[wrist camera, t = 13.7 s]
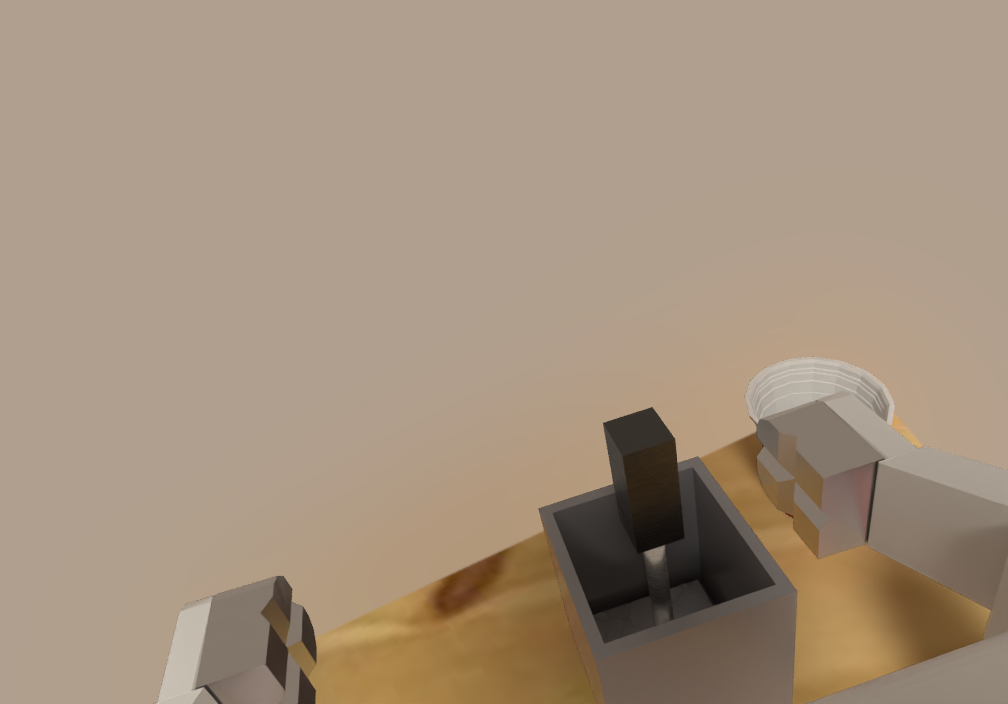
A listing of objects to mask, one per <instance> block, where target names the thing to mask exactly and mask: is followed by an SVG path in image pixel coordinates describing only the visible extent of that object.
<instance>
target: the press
mask: <svg viewBox="0 0 1008 704" xmlns="http://www.w3.org/2000/svg"><path fill="white" fill-rule="evenodd" d="M677 464H678V474H679V485H680V495H681V506H682V516H683V526H684V537H685V538H684V539H681V540H679V541H676V542H673V543H670V544H667V545H665V551H666V559H667V567H668V575H669V584H670V589H671V588H674V587H677V586H680V585H683V584H686V583H689V582H692V581H695V580H698V581H699V583H700V585H701V586H702V588H703V590H704V591H705V593H706V595H707V597H708V598H709V600H710V602H711V603H712V605H713V606H712V607H710V608H707V609H704V610H701V611H698V612H695V613H692V614H689V615H686V616H683V617H681V618H678V619H675V620H672V621H669V622H666V623H663V624H660V625H657V626H654V627H652V628H649V629H646V630H643V631H640V632H637V633H634V634H631V635H628V636H625V637H623V638H620V639H617V640H614V641H611V642H608V643H605V644H604V642H603V640H602V637H601V635H600V632H599V630H598V627H597V625H596V622H595V619H594V617H593V615H595V614H598V613H601V612H604V611H607V610H609V609H612V608H615V607H618V606H621V605H624V604H627V603H630V602H633V601H636V600H639V599H642V598H645V597H648V596H650V595H649V588H648V581H647V575H646V568H645V561H644V555H643V553H640V554H637V552H636V550H635V548H634V546H633V544H632V542H631V540H630V538H629V536H628V534H627V532H626V530H625V528H624V526H623V524H622V522H621V521H620V519H619V513H618V507H617V501H616V495H615V490H614V484H612V485H609V486H606V487H603V488H600V489H597V490H594V491H591V492H587V493H584V494H582V495H579V496H575V497H572V498H570V499H566V500H563V501H560V502H557V503H554V504H551V505H548V506H545V507H542V508H539V512H540V516H541V520H542V524H543V527H544V531H545V535H546V539H547V543H548V546H549V550H550V554H551V558H552V561H553V565H554V569H555V573H556V576H557V580H558V584H559V588H560V591H561V595H562V599H563V603H564V607H565V610H566V614H567V618H568V622H569V625H570V628H571V631H572V634H573V637H574V640H575V643H576V645H577V648H578V651H579V654H580V657H581V660H582V662H583V665H584V668H585V671H586V674H587V676H588V679H589V682H590V685H591V688H592V691H593V693H594V696H595V699H596V702H597V704H792V697H793V675H794V653H795V631H796V609H797V590H796V589H795V588H794V586H793V585H792V583H791V582H790V581H789V579H788V578H787V577H786V575H785V574H784V573H783V571H782V570H781V568H780V567H779V566H778V564H777V563H776V562H775V560H774V559H773V558H772V556H771V555H770V553H769V552H768V551H767V549H766V548H765V547H764V545H763V544H762V543H761V541H760V540H759V539H758V537H757V536H756V534H755V533H754V532H753V530H752V529H751V528H750V526H749V525H748V524H747V522H746V521H745V519H744V518H743V517H742V515H741V514H740V513H739V511H738V510H737V509H736V507H735V506H734V504H733V503H732V502H731V500H730V499H729V498H728V496H727V495H726V494H725V492H724V491H723V490H722V488H721V487H720V485H719V484H718V483H717V481H716V480H715V479H714V477H713V476H712V475H711V473H710V472H709V470H708V469H707V468H706V466H705V465H704V464H703V462H702V461H701V460H700V458H699V457H695V458H692V459H689V460H685V461H682V462H679V463H677Z"/></svg>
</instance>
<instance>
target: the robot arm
mask: <svg viewBox="0 0 1008 704" xmlns="http://www.w3.org/2000/svg"><path fill="white" fill-rule="evenodd" d="M757 438H758V440H759V441H760V442H761V443H762V444H763V445H764V447H763V448H762V450H761V451H760V453H759V454H758V456H757V472H758V475H759V478H760V481H761V484H762V487H763V489H764V491H765V492H766V494H767V496H768V498H769V499H770V500H771V502H772V503H773V504H774V506H775V507H776V508H777V509H778V510H780V511H783V512H785V513H787V514H790V515H792V516H794V518H793V529H794V530H795V532H796V533H797V534H798V535H799V537H800V538H801V539H802V540H803V541H804V543H805V544H806V545H807V546H808V548H809V549H810V550H811V551H812V552H813V554H814V555H815V556H816V557H817V559H820V558H823V557H826V556H830V555H833V554H836V553H839V552H842V551H846V550H849V549H852V548H855V547H858V546H862V545H865V544H868V547H870V548H872V549H874V550H875V551H877V552H879V553H881V554H883V555H885V556H887V557H889V558H891V559H893V560H895V561H897V562H899V563H901V564H903V565H905V566H906V567H908V568H910V569H912V570H914V571H916V572H918V573H920V574H922V575H924V576H926V577H928V578H930V579H932V580H934V581H936V582H937V583H939V584H941V585H943V586H945V587H947V588H949V589H951V590H953V591H955V592H957V593H959V594H961V595H963V596H965V597H966V598H968V599H970V600H972V601H974V602H976V603H978V604H980V605H982V606H984V607H986V608H988V609H990V610H991V612H990V616H989V619H988V622H987V625H986V629H985V632H984V636H983V640H981V641H979V642H976V643H973V644H970V645H968V646H965V647H962V648H959V649H956V650H954V651H951V652H948V653H945V654H942V655H940V656H937V657H934V658H931V659H929V660H926V661H923V662H920V663H917V664H915V665H912V666H909V667H906V668H903V669H901V670H898V671H895V672H892V673H890V674H887V675H884V676H881V677H878V678H876V679H873V680H870V681H867V682H864V683H862V684H859V685H856V686H853V687H851V688H848V689H845V690H842V691H839V692H837V693H834V694H831V695H828V696H825V697H823V698H820V699H817V700H814V701H811V702H809V703H806V704H1008V470H1007V469H1004V468H1000V467H997V466H993V465H990V464H987V463H983V462H980V461H977V460H973V459H970V458H966V457H962V456H959V455H956V454H952V453H949V452H946V451H942V450H939V449H935V448H932V447H929V446H925V447H921V448H917V447H916V446H915V445H913V444H912V443H911V442H910V441H908V440H907V439H906V438H905V437H904V436H902V435H901V434H900V433H899V432H898V431H896V430H895V429H894V428H893V427H891V426H890V425H889V424H888V423H887V422H885V421H884V420H883V419H882V418H881V417H879V416H878V415H877V414H876V413H874V412H873V411H872V410H871V409H870V408H868V407H867V406H866V405H865V404H864V403H862V402H861V401H860V400H859V399H857V398H856V397H855V396H854V395H853V394H851V393H849V392H846V391H841V392H838V393H835V394H832V395H830V396H827V397H824V398H821V399H818V400H815V401H814V402H809V403H806V404H803V405H800V406H797V407H794V408H791V409H788V410H785V411H782V412H779V413H776V414H773V415H770V416H767V417H764V418H761V419H759V422H758V424H757ZM291 600H292V588H291V586H290V585H289V584H288V582H287V581H286V579H285V578H284V576H275V577H272V578H269V579H265V580H262V581H259V582H255V583H252V584H249V585H245V586H242V587H239V588H236V589H232V590H229V591H225V592H222V593H219V594H217V595H214V596H211V597H207V598H204V599H201V600H197V601H194V602H191V603H187V604H185V606H184V607H183V608H182V610H181V611H180V613H179V615H178V619H177V623H176V627H175V631H174V635H173V639H172V644H171V648H170V652H169V656H168V660H167V664H166V668H165V673H164V677H163V680H162V684H161V689H160V693H159V697H158V701H157V703H155V704H315V695H316V690H315V689H314V687H313V686H312V684H311V683H310V681H309V680H308V677H309V675H310V674H311V672H312V670H313V669H314V667H315V666H316V649H317V647H316V641H315V635H314V629H313V626H312V624H311V621H310V618H309V616H308V614H307V612H306V611H305V609H304V607H303V606H301V605H298V604H296V603H293V602H291Z"/></svg>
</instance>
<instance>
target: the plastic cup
mask: <svg viewBox="0 0 1008 704" xmlns="http://www.w3.org/2000/svg"><path fill="white" fill-rule="evenodd" d="M841 391H846V392H849V393H851V394H853V395H854V396H855V397H856V398H857V399H859V400H860V401H861V402H862V403H864V404H865V405H866V406H867V407H868V408H870V409H871V410H872V411H873V412H874V413H876V414H877V415H878V416H879V417H881V418H882V419H883V420H884V421H885V422H887V423H888V424H889V425H890V426H891V424H892V421H893V415H894V408H895V403H894V402H893V400H892V398H891V396H890V394H889V392H888V390H887V388H886V386H885V385H884V384H882V383H881V382H880V381H879V380H878V379H876V378H875V377H874V376H872V375H871V374H870V373H869V372H868V371H866V370H864V369H861V368H858V367H856V366H853V365H851V364H849V363H846V362H844V361H840V360H834V359H826V358H820V357H805V358H794V359H786V360H783V361H781V362H778V363H775V364H773V365H770V366H767V367H765V368H764V369H763V370H762V371H760V372H759V373H758V374H757V375H756V376H755V377H753V378H752V379H751V380H750V383H749V386H748V389H747V391H746V394H745V400H746V405H747V408H748V412H749V416H750V418H751V419H752V420H753V421H754V422H755V424H756V426H757V424H758V422H759V419H761V418H764V417H767V416H770V415H773V414H776V413H779V412H782V411H785V410H788V409H791V408H794V407H797V406H800V405H803V404H806V403H809V402H814V401H815V400H818V399H821V398H824V397H827V396H830V395H832V394H835V393H838V392H841ZM762 447H764V445H763V444H762ZM786 514H787V513H786ZM787 515H789V516H791V517H793V518H794V516H792V515H790V514H787Z"/></svg>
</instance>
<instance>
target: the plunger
mask: <svg viewBox="0 0 1008 704" xmlns="http://www.w3.org/2000/svg"><path fill="white" fill-rule="evenodd" d="M603 426H604V431H605V437H606V443H607V449H608V455H609V460H610V466H611V472H612V478H613V484H614V490H615V495H616V501H617V507H618V513H619V519H620V521H621V522H622V524H623V526H624V528H625V530H626V532H627V534H628V536H629V538H630V540H631V542H632V544H633V546H634V548H635V550H636V552H637V554H640V553H643V555H644V561H645V568H646V575H647V581H648V588H649V595H650V596H648V597H645V598H642V599H639V600H636V601H633V602H630V603H627V604H624V605H621V606H618V607H615V608H612V609H609V610H607V611H604V612H601V613H598V614H595V615H593V617H594V619H595V622H596V625H597V627H598V630H599V632H600V635H601V637H602V640H603V642H604V644H605V643H608V642H611V641H614V640H617V639H620V638H623V637H625V636H628V635H631V634H634V633H637V632H640V631H643V630H646V629H649V628H652V627H654V626H657V625H660V624H663V623H666V622H669V621H672V620H675V619H678V618H681V617H683V616H686V615H689V614H692V613H695V612H698V611H701V610H704V609H707V608H710V607H712V606H713V605H712V603H711V602H710V600H709V598H708V597H707V595H706V593H705V591H704V590H703V588H702V586H701V585H700V583H699V581H698V580H695V581H692V582H689V583H686V584H683V585H680V586H677V587H674V588H671V589H670V584H669V575H668V567H667V559H666V551H665V545H667V544H670V543H673V542H676V541H679V540H681V539H684V538H685V537H684V526H683V516H682V506H681V495H680V485H679V474H678V464H677V454H676V444H675V438H674V437H673V435H672V434H671V433H670V431H669V430H668V428H667V427H666V426H665V424H664V423H663V421H662V420H661V419H660V417H659V416H658V414H657V413H656V412H655V410H654V409H653V408H652V407H651V408H648V409H646V410H643V411H639V412H636V413H633V414H630V415H627V416H624V417H620V418H617V419H614V420H611V421H608V422H605V423H603Z"/></svg>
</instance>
